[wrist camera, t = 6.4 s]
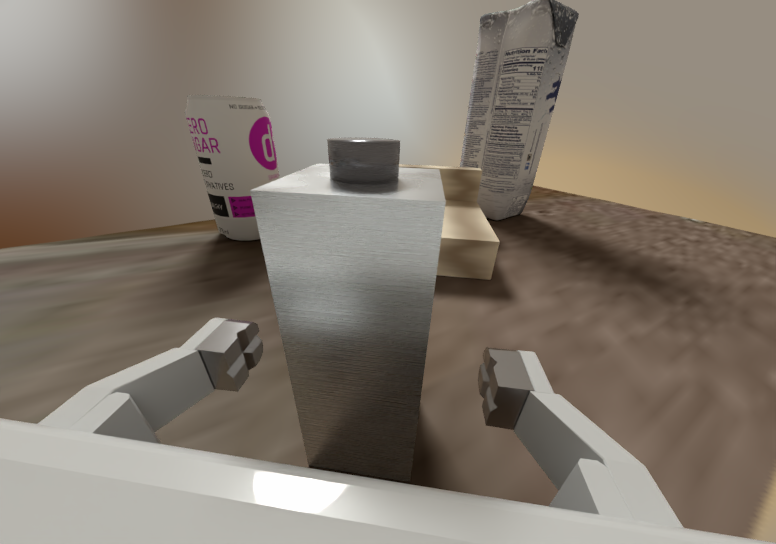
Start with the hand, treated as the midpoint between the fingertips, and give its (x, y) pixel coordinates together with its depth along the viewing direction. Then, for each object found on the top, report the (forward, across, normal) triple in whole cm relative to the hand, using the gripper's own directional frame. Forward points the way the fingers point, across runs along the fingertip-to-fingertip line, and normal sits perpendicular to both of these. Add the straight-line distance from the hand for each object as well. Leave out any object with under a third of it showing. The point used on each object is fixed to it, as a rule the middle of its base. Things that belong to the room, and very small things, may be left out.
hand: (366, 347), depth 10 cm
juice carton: (+41, +13, -6) cm, 44 cm away
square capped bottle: (+1, 0, -6) cm, 6 cm away
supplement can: (+25, -20, -6) cm, 33 cm away
